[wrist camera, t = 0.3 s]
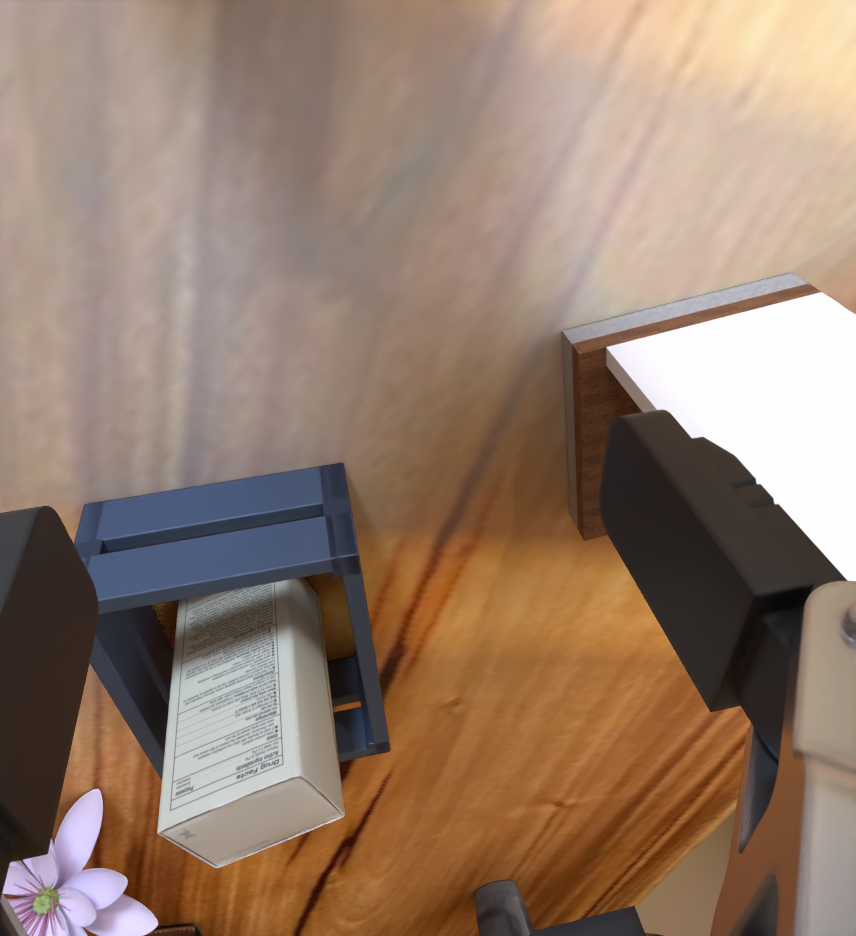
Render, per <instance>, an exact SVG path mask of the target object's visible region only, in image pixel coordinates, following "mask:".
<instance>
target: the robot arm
mask: <svg viewBox="0 0 856 936" xmlns="http://www.w3.org/2000/svg"><path fill="white" fill-rule="evenodd" d="M599 507H600V513H601V518H602V522H603V525H604V527H605V530H606V532H607V534H608V536H609V538H610V539H611V541H612V543H613V544H614V546H615V548H616V550H617V551H618V553H619V555H620V557H621V558H622V560H623V562H624V563H625V565H626V567H627V569H628V570H629V572H630V574H631V576H632V577H633V579H634V581H635V582H636V584H637V586H638V588H639V589H640V591H641V593H642V594H643V596H644V598H645V600H646V601H647V603H648V605H649V607H650V608H651V610H652V612H653V613H654V615H655V617H656V619H657V620H658V622H659V624H660V626H661V627H662V629H663V631H664V632H665V634H666V636H667V638H668V639H669V641H670V643H671V645H672V646H673V648H674V650H675V651H676V653H677V655H678V657H679V658H680V660H681V662H682V664H683V665H684V667H685V669H686V670H687V672H688V674H689V676H690V677H691V679H692V681H693V683H694V684H695V686H696V688H697V689H698V691H699V693H700V695H701V696H702V698H703V700H704V701H705V703H706V705H707V707H708V708H709V710H710V712H714V711H719V710H723V709H728V708H732V707H737V706H741V707H742V708H743V710H744V712H745V713H746V715H747V716H748V718H749V720H750V721H751V724H750V726H749V728H748V731H747V735H746V741H745V748H744V755H743V762H742V769H741V776H740V783H739V790H738V798H737V805H736V813H735V819H734V826H733V833H732V840H731V847H730V855H729V860H728V865H727V870H726V874H725V878H724V882H723V885H722V889H721V892H720V895H719V898H718V902H717V906H716V910H715V914H714V918H713V923H712V928H711V933H710V936H856V581H848V580H847V579H846V578H845V577H844V576H843V575H842V574H841V573H840V572H839V570H838V569H837V568H836V567H835V566H834V565H833V564H832V563H831V562H830V560H829V559H828V558H827V557H826V556H825V555H824V554H823V553H822V552H821V550H820V549H819V548H818V547H817V546H816V545H815V544H814V543H813V542H812V540H811V539H810V538H809V537H808V536H807V535H806V534H805V533H804V532H803V530H802V529H801V528H800V527H799V526H798V525H797V524H796V523H795V522H794V520H793V519H792V518H791V517H790V516H789V515H788V514H787V513H786V512H785V511H784V509H783V508H782V507H781V506H780V505H779V504H775V503H774V498H773V497H772V496H771V495H770V494H769V493H768V492H767V491H766V489H765V488H764V487H763V486H762V485H761V484H757V483H756V478H755V477H754V476H753V475H752V474H751V473H750V472H749V471H748V469H747V468H746V467H745V466H744V465H743V464H742V463H741V462H740V461H739V459H738V458H737V457H736V456H735V455H733V454H732V453H730V452H728V451H727V450H725V449H723V448H722V447H720V446H718V445H716V444H715V443H713V442H711V441H710V440H708V439H706V438H705V437H698V438H691V437H690V435H689V434H688V433H687V432H686V431H685V430H684V428H683V427H682V426H681V425H680V424H679V423H678V421H677V420H676V419H675V418H674V417H673V415H672V414H671V413H670V412H668V411H667V410H655V411H649V412H643V413H636V414H630V415H624V416H618V417H615V418H613V419H612V421H611V423H610V426H609V430H608V436H607V443H606V450H605V457H604V464H603V471H602V478H601V485H600V492H599ZM98 617H99V608H98V598H97V593H96V589H95V586H94V583H93V581H92V578H91V576H90V575H89V573H88V571H87V569H86V567H85V565H84V563H83V561H82V559H81V557H80V555H79V553H78V552H77V550H76V548H75V546H74V544H73V542H72V540H71V538H70V536H69V534H68V532H67V531H66V529H65V527H64V525H63V523H62V521H61V519H60V517H59V516H58V514H57V513H56V511H55V510H54V509H53V508H51V507H49V506H42V507H35V508H29V509H23V510H17V511H10V512H4V513H0V936H29V935H28V934H27V932H26V930H25V929H24V927H23V925H22V923H21V922H20V920H19V918H18V917H17V915H16V913H15V911H14V910H13V908H12V906H11V905H10V903H9V901H8V900H7V899H6V898H5V896H4V895H3V894H2V892H3V888H4V884H5V880H6V877H7V873H8V869H9V865H10V862H15V861H19V860H24V859H28V858H33V857H38V856H42V855H47V854H48V851H49V846H50V842H51V837H52V833H53V828H54V823H55V819H56V814H57V810H58V805H59V800H60V796H61V791H62V787H63V782H64V777H65V773H66V768H67V763H68V759H69V754H70V750H71V745H72V740H73V736H74V731H75V727H76V722H77V717H78V713H79V708H80V704H81V699H82V694H83V690H84V685H85V681H86V676H87V671H88V667H89V662H90V658H91V653H92V648H93V644H94V639H95V634H96V630H97V625H98ZM528 936H662V935H658V934H650V933H645V932H644V930H643V927H642V925H641V922H640V919H639V917H638V914H637V912H636V909H635V906H632V907H628V908H624V909H620V910H616V911H612V912H608V913H604V914H600V915H596V916H592V917H588V918H585V919H581V920H577V921H573V922H569V923H565V924H561V925H557V926H553V927H549V928H545V929H541V930H537V931H534V932H533V933H531V934H530V935H528Z"/></svg>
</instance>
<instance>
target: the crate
mask: <svg viewBox="0 0 856 936" xmlns="http://www.w3.org/2000/svg"><path fill="white" fill-rule="evenodd" d="M319 516H322V517H319ZM313 517H316V518H313ZM307 518H310V519H307ZM301 519H304V520H301ZM295 520H298V521H295ZM290 521H292V522H290ZM284 522H287V523H284ZM278 523H281V524H278ZM272 524H275V525H272ZM266 525H269V526H266ZM260 526H263V527H260ZM255 527H257V528H255ZM249 528H252V529H249ZM243 529H246V530H243ZM237 530H240V531H237ZM231 531H234V532H231ZM225 532H228V533H225ZM220 533H222V534H220ZM214 534H217V535H214ZM208 535H211V536H208ZM202 536H205V537H202ZM196 537H199V538H196ZM190 538H193V539H190ZM185 539H187V540H185ZM179 540H182V541H179ZM173 541H176V542H173ZM167 542H170V543H167ZM161 543H164V544H161ZM155 544H158V545H155ZM150 545H152V546H150ZM74 546H75V548H76V550H77V552H78V553H79V555H80V557H81V559H82V561H83V563H84V565H85V567H86V569H87V571H88V573H89V575H90V576H91V578H92V581H93V583H94V586H95V589H96V593H97V598H98V608H99V617H98V625H97V630H96V634H95V639H94V644H93V648H92V653H91V658H90V664H91V665H92V667H93V669H94V670H95V672H96V673H97V675H98V677H99V678H100V680H101V682H102V683H103V685H104V687H105V688H106V690H107V691H108V693H109V695H110V696H111V698H112V700H113V701H114V703H115V705H116V706H117V708H118V709H119V711H120V713H121V714H122V716H123V718H124V719H125V721H126V723H127V724H128V726H129V727H130V729H131V731H132V732H133V734H134V736H135V737H136V739H137V741H138V742H139V744H140V745H141V747H142V749H143V750H144V752H145V754H146V755H147V757H148V759H149V760H150V762H151V763H152V765H153V767H154V768H155V770H156V772H157V773H158V775H159V777H160V778H161V780H162V777H163V766H164V754H165V743H166V731H167V722H168V711H169V700H170V689H171V679H172V668H173V658H174V653H173V651H172V648H171V646H170V644H169V642H168V640H167V638H166V636H165V634H164V631H163V629H162V627H161V625H160V623H159V621H158V619H157V617H156V615H155V612H154V610H153V608H152V606H151V605H153V604H158V603H164V602H169V601H175V600H180V599H186V598H191V597H197V596H202V595H208V594H213V593H219V592H225V591H230V590H236V589H241V588H247V587H252V586H258V585H263V584H269V583H274V582H280V581H285V580H291V579H296V578H302V577H307V576H313V575H318V574H324V573H329V572H332V576H333V578H340V577H343V581H344V586H345V592H346V597H347V602H348V607H349V613H350V618H351V623H352V629H353V634H354V639H355V644H356V650H357V652H355V653H354V657H351V658H346V659H341V660H336V661H331V662H327V666H328V675H329V683H330V691H331V701H332V707H334V706H338V705H343V704H348V703H353V702H358V701H361V707H358V708H353V709H348V710H343V711H338V712H334V713H333V717H334V726H335V734H336V743H337V752H338V760H339V762H343V761H347V760H352V759H357V758H361V757H366V756H371V755H376V754H381V753H385V752H390V751H391V749H390V743H389V737H388V730H387V724H386V718H385V712H384V706H383V700H382V693H381V687H380V681H379V675H378V669H377V663H376V656H375V650H374V644H373V638H372V632H371V626H370V619H369V613H368V607H367V601H366V595H365V589H364V582H363V576H362V570H361V564H360V558H359V552H358V546H357V540H356V534H355V528H354V522H353V516H352V511H351V505H350V499H349V493H348V487H347V481H346V475H345V469H344V464H343V463H337V464H331V465H325V466H319V467H314V468H308V469H302V470H296V471H290V472H283V473H277V474H271V475H265V476H259V477H253V478H247V479H240V480H234V481H228V482H222V483H216V484H210V485H204V486H197V487H191V488H185V489H179V490H173V491H167V492H160V493H154V494H148V495H142V496H136V497H130V498H124V499H117V500H110V501H104V502H97V503H91V504H85V505H84V508H83V512H82V516H81V519H80V523H79V527H78V530H77V534H76V538H75V541H74ZM144 546H147V547H144ZM138 547H141V548H138ZM132 548H135V549H132ZM126 549H129V550H126Z"/></svg>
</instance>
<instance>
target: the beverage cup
mask: <svg viewBox="0 0 856 936" xmlns="http://www.w3.org/2000/svg"><path fill="white" fill-rule="evenodd" d="M474 898H475V902H476V916H477V922H478V929H479V936H528V935H530V934H531V933H533V932H534V928H533V925H532V923H531V920H530V917H529V914H528V911H527V909H526V906H525V903H524V900H523V899H522V897H521V894H520V891H519V890H518V886H517V883H516V882H514V881H510V880H504V881H498V882H494V883H490V884H488V885H485V886H483V887H482V888H480V889H479V890H477V891H476V892H475V894H474Z"/></svg>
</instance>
